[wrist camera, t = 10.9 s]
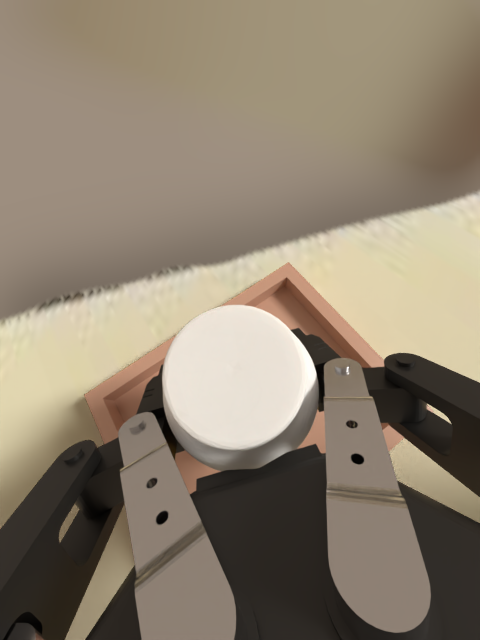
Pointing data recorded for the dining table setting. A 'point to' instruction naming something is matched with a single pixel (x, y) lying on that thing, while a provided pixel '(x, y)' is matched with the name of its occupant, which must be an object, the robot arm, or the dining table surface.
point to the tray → (269, 295)
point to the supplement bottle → (238, 388)
